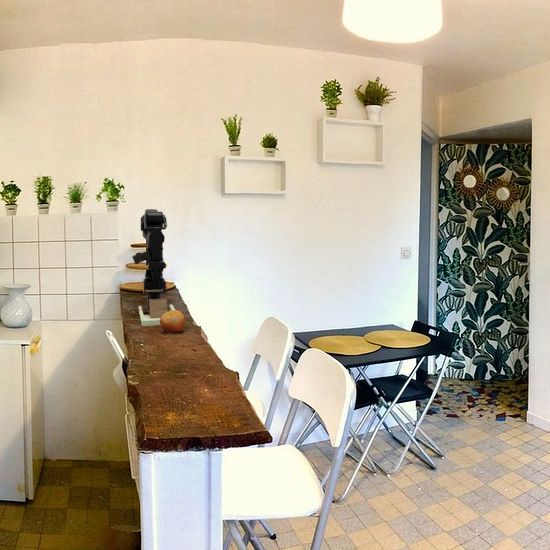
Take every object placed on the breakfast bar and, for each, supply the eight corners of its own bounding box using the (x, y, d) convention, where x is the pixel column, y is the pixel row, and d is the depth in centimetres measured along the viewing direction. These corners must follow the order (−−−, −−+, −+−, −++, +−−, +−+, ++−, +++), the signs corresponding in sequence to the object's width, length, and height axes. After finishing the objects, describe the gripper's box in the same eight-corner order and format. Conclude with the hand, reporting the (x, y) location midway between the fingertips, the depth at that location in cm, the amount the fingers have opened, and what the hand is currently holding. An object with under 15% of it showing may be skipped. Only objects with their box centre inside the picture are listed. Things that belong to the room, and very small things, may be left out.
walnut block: (149, 315, 191) (149, 299, 190) (165, 314, 193) (165, 298, 192) (150, 318, 185) (150, 302, 184) (167, 317, 187) (167, 301, 186)
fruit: (189, 323, 173) (186, 306, 168) (184, 340, 167) (180, 322, 162) (166, 323, 174) (162, 305, 169) (160, 339, 168) (155, 321, 163)
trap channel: (138, 312, 201) (138, 306, 201) (172, 310, 205) (172, 304, 205) (142, 328, 173) (141, 321, 172) (180, 325, 177) (180, 319, 176)
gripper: (132, 243, 202) (133, 282, 204) (133, 246, 184) (134, 289, 186) (161, 243, 205) (162, 281, 207) (165, 246, 187) (166, 288, 189)
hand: (155, 285), depth 197 cm, fingers closed
